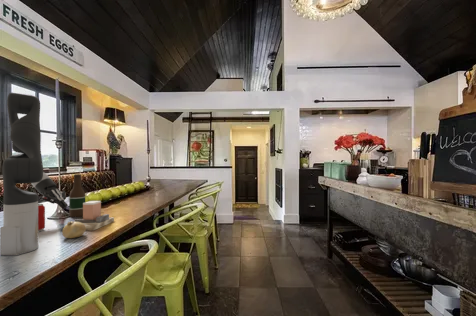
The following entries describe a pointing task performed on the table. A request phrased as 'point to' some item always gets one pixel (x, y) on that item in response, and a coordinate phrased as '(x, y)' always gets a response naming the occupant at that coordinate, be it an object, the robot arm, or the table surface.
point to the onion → (73, 229)
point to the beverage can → (41, 217)
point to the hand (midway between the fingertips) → (65, 207)
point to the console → (96, 222)
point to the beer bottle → (76, 198)
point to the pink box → (91, 210)
